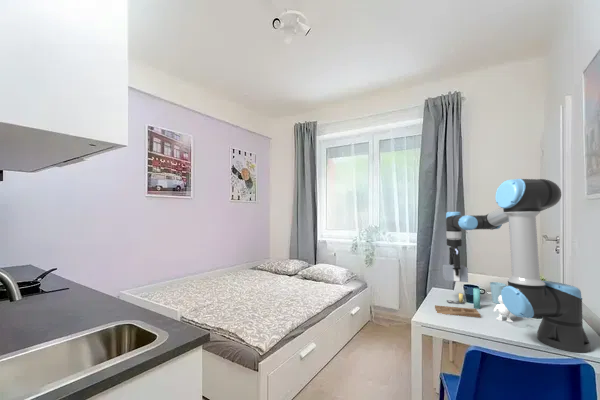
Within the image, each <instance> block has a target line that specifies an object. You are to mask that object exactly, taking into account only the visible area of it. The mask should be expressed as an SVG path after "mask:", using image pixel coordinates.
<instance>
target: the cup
mask: <svg viewBox="0 0 600 400" xmlns="http://www.w3.org/2000/svg"><path fill="white" fill-rule="evenodd" d="M506 286H507V284H506V283H503V282H498V281H497V282H496V281H491V282H489V287H490V294H491V300H492V303H494V304H496V305H497V304H501V303H499V301H498V297H499V296H500V295H501V291H502V290H503V288H504V287H506Z"/></svg>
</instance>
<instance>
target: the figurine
mask: <svg viewBox="0 0 600 400" xmlns="http://www.w3.org/2000/svg"><path fill="white" fill-rule="evenodd" d="M498 301H499V303H501V304H497V303H496V305H495V306H494V308H493V312H498V317H496V321H500V322H502V321H503V316H505V317H506V322H508V323H509V322H510V323H513V320H512V319H511V316H510V314H511V312H509V310H508V309H507V308H506V307H505V305H504V303H503V301H502V297H501V295H500V296H499V297H498Z"/></svg>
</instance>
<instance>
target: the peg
mask: <svg viewBox="0 0 600 400" xmlns="http://www.w3.org/2000/svg"><path fill="white" fill-rule="evenodd" d="M472 291H473V292H472V293H473V309H476V310H477V309H478V310H479V309H480V310H481V289H480V288H478V287H474V288H473V290H472Z"/></svg>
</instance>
